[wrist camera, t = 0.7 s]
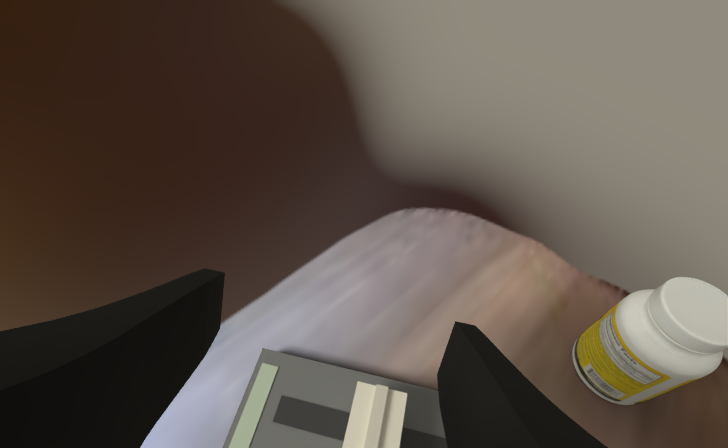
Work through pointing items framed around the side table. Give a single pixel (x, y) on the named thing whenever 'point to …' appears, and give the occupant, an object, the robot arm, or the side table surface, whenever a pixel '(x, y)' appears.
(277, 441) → the panel
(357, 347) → the side table surface
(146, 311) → the robot arm
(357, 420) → the block
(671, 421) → the side table surface
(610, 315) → the supplement bottle
